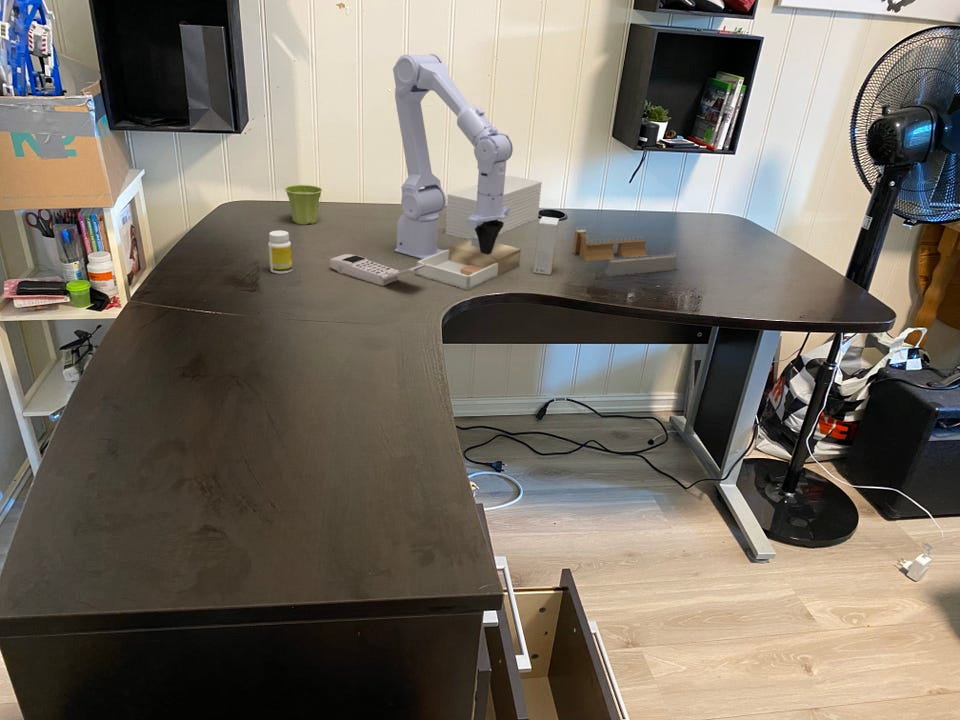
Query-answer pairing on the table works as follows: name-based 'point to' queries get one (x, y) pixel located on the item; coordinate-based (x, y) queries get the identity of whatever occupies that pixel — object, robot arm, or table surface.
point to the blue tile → (475, 241)
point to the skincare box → (546, 245)
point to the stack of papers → (517, 197)
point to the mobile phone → (367, 269)
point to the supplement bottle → (280, 252)
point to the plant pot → (304, 203)
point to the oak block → (486, 256)
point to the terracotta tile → (470, 270)
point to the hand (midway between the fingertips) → (485, 253)
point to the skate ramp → (624, 250)
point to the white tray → (453, 271)
